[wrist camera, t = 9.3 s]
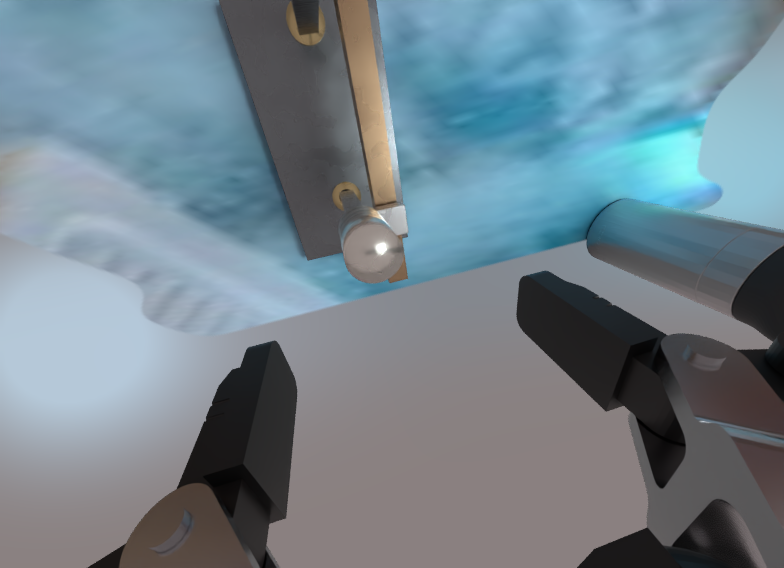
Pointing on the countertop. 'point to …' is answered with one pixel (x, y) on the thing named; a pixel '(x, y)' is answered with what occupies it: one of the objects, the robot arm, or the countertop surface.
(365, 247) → the grey elongated rounded piece
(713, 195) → the countertop surface
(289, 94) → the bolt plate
